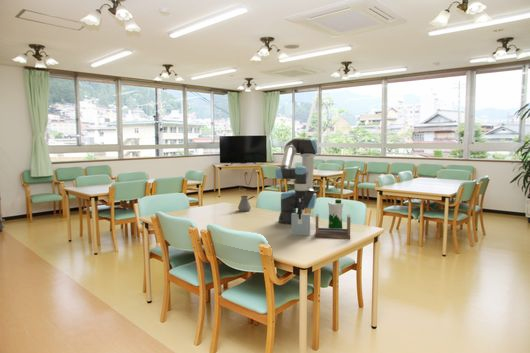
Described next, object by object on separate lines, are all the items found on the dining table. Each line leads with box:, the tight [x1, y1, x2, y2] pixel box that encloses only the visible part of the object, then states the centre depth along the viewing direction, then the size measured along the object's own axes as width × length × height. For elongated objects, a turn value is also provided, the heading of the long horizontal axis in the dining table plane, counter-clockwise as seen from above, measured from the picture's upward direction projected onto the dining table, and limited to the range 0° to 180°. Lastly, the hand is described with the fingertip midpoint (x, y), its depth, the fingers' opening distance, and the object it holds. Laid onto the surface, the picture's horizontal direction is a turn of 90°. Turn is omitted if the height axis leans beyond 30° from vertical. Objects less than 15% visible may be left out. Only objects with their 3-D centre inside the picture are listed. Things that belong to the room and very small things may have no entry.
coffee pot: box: [237, 195, 256, 213], centre depth 315 cm, size 21×12×15 cm, turn 37°
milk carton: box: [328, 199, 344, 229], centre depth 258 cm, size 9×9×20 cm
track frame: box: [314, 213, 351, 240], centre depth 239 cm, size 12×22×14 cm, turn 80°
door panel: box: [291, 212, 311, 236], centre depth 242 cm, size 3×12×14 cm, turn 80°
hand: (300, 221), depth 242 cm, fingers open, 13 cm apart
